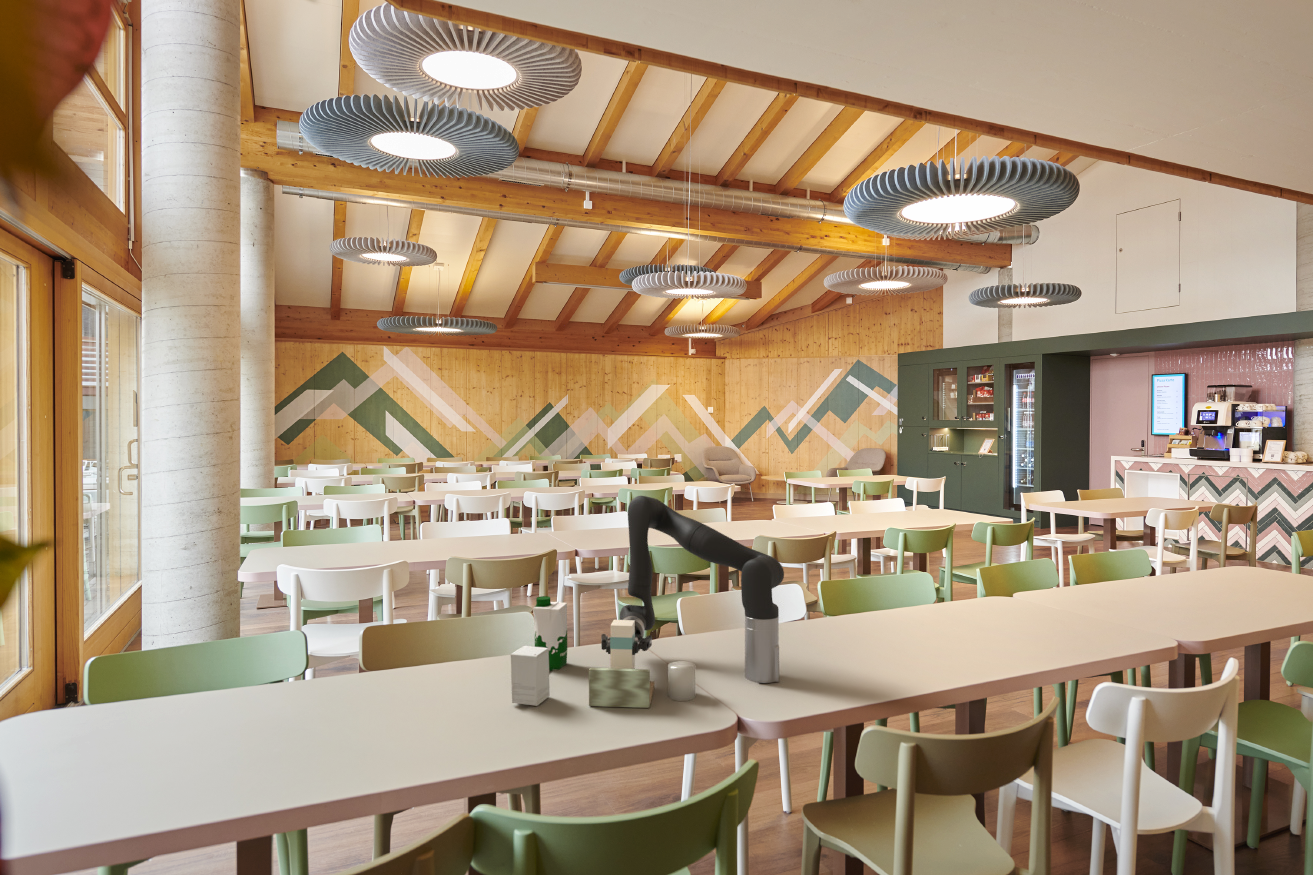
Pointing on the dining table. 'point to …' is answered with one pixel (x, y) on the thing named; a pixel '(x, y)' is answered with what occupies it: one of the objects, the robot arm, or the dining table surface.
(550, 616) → the milk carton
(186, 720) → the dining table surface
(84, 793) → the dining table surface
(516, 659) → the supplement box
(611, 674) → the display bay
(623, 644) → the oat carton
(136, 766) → the dining table surface
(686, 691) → the white tapered tumbler
